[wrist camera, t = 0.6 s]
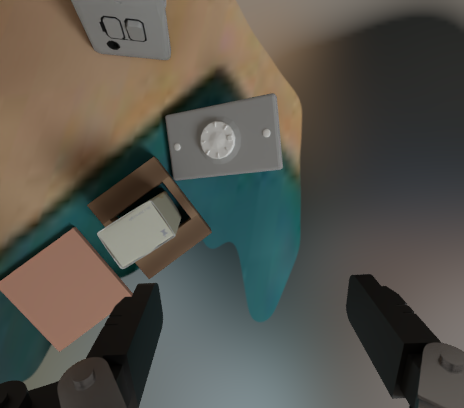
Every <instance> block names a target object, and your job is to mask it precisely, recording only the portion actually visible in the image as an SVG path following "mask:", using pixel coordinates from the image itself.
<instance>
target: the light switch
mask: <svg viewBox="0 0 464 408" xmlns="http://www.w3.org/2000/svg"><path fill="white" fill-rule="evenodd" d="M165 119H166V126H167V134H168V142H169V149H170V157H171V164H172V172H173V179H174V180H185V179H194V178H204V177H213V176H223V175H232V174H242V173H251V172H261V171H270V170H280V169H282V167H283V164H282V153H281V141H280V130H279V118H278V107H277V97H276V95H275V94H273V93H272V94H267V95H262V96H257V97H252V98H248V99H243V100H238V101H233V102H228V103H223V104H219V105H214V106H209V107H204V108H199V109H194V110H190V111H185V112H180V113H175V114H170V115H167V116H166V117H165Z"/></svg>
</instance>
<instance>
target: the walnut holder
mask: <svg viewBox="0 0 464 408" xmlns="http://www.w3.org/2000/svg"><path fill="white" fill-rule="evenodd" d="M162 182H163V183H164V184H165V185H166V187H167V188H168V189H169V190H170V192H171V193H172V194H173V196H174V197H175V198H176V200H177V201H178V202H179V203H180V205H181V206H182V207H183V209H184V210H185V211H186V212H187V214H188V215H189V216H190V217H189V218H188V219H187V220H185V221H184V222H183V223H181V224H180V225H179V226H178V230H177V233H176V236H175V237H174V238H172V239H170V240H169V241H167V242H166V243H164V244H163V245H161V246H160V247H158V248H157V249H155V250H154V251H152V252H151V253H149V254H148V255H146V256H144V257H143V258H141V259H139V260H138V261H136V262H135V263H136V264H137V265H138V267H139V268H140V269H141V270H142V271H143V273H144V274H145V275H146V276H147V277H148V278H149V279H150V278H151V277H153V276H154V275H156V274H157V273H158V272H160V271H161V270H162V269H164V268H165V267H166V266H168V265H169V264H170V263H171V262H173V261H174V260H176V259H177V258H178V257H179V256H181V255H182V254H184V253H185V252H186V251H188V250H189V249H190V248H192V247H193V246H194V245H196V244H197V243H198V242H200V241H201V240H202V239H204V238H205V237H206V236H208V235H209V234H210V233H212V232H211V229H210V227H209V226H208V224H207V223H206V222H205V221H204V219H203V218H202V217H201V215H200V214H199V213H198V211H197V210H196V209H195V207H194V206H193V205H192V204H191V202H190V201H189V200H188V198H187V197H186V196H185V194H184V193H183V192H182V190H181V189H180V188H179V186H178V185H177V184H176V183H175V181H174V180H173V179H172V177H171V176H170V175H169V173H168V172H167V171H166V169H165V168H164V167H163V166H162V164H161V163H160V162H159V160H158V159H157V158H155V157H153V158H151V159H150V160H149V161H147V162H146V163H144V164H143V165H142V166H140V167H139V168H138V169H136V170H135V171H133V172H132V173H131V174H129V175H128V176H126V177H125V178H124V179H122V180H121V181H120V182H118V183H117V184H115V185H114V186H113V187H111V188H110V189H109V190H107V191H106V192H104V193H103V194H102V195H100V196H99V197H98V198H96V199H95V200H93V201H92V202H91V203H89V204H88V205H87V206H88V207H89V208H90V209H91V211H92V212H93V213H94V214H95V215H96V217H97V218H98V219H99V220H100V221H101V223H102V224H103V225H104V226H105V227H107V226H108V225H110V224H111V223H113V222H114V221H116V220H118V217H117V215H119V214H120V213H121V212H123V211H124V210H126V209H127V208H128V207H130V206H131V205H132V204H134V203H135V202H136V201H138V200H139V199H141V198H142V197H143V196H145V195H146V194H147V193H149V192H150V191H152V190H153V189H154V188H156V187H157V186H158V185H160V184H161V183H162Z"/></svg>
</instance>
